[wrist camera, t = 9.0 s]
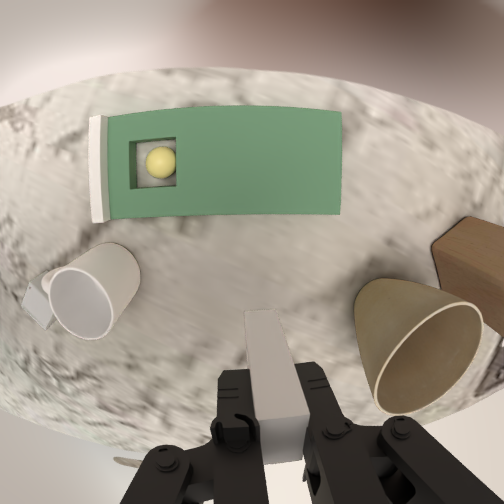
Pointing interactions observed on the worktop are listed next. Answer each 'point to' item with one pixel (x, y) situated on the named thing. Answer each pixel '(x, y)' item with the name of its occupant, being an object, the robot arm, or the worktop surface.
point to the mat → (219, 162)
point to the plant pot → (414, 342)
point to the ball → (161, 162)
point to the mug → (93, 290)
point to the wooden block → (474, 267)
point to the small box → (38, 303)
